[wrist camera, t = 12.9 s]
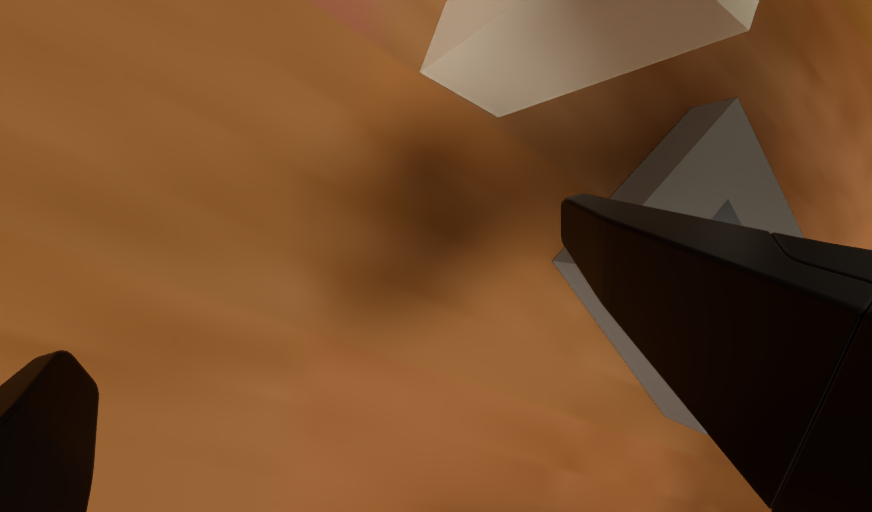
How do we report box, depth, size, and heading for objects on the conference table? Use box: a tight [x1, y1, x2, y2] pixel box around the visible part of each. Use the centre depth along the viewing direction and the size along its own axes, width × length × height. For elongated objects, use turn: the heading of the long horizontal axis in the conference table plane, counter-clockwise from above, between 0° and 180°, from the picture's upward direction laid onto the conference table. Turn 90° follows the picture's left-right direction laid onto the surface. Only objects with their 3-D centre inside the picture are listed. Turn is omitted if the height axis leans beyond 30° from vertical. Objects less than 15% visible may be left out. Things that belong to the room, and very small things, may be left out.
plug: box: [420, 0, 759, 118], centre depth 16 cm, size 4×4×11 cm
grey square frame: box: [553, 97, 804, 435], centre depth 25 cm, size 12×12×2 cm
